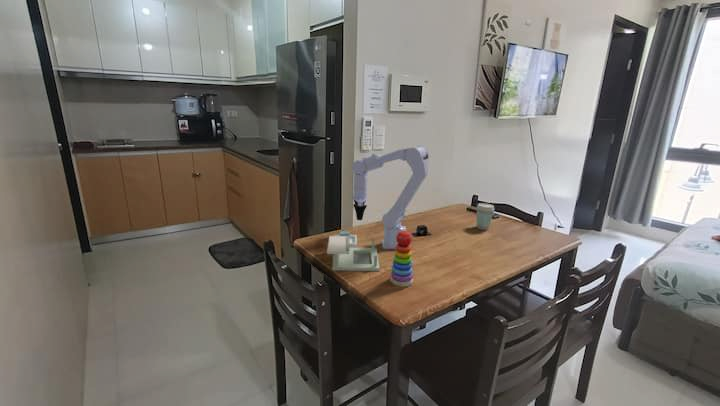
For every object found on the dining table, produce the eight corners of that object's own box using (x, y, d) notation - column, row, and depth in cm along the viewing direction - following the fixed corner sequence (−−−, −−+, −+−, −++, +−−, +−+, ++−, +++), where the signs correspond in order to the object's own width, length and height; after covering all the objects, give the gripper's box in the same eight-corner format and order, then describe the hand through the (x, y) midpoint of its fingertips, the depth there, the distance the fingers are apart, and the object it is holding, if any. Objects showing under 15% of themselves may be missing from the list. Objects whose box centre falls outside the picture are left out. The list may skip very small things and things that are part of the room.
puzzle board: (376, 251, 140) (376, 238, 138) (379, 271, 122) (380, 257, 121) (334, 250, 139) (335, 237, 138) (332, 270, 122) (332, 256, 120)
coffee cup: (493, 227, 172) (496, 204, 169) (489, 232, 165) (492, 208, 162) (476, 223, 177) (479, 201, 173) (471, 228, 170) (474, 205, 166)
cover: (349, 238, 136) (349, 235, 136) (349, 254, 122) (349, 250, 122) (329, 237, 136) (329, 234, 136) (326, 253, 122) (326, 250, 121)
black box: (428, 231, 166) (429, 222, 164) (437, 236, 159) (438, 227, 158) (406, 233, 161) (407, 224, 160) (414, 239, 155) (414, 230, 153)
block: (349, 240, 149) (349, 231, 148) (349, 243, 145) (349, 234, 144) (340, 239, 149) (340, 231, 148) (339, 243, 145) (340, 234, 144)
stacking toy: (387, 276, 119) (390, 226, 114) (410, 276, 120) (414, 226, 115) (391, 288, 112) (395, 235, 107) (415, 287, 112) (420, 235, 107)
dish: (356, 238, 152) (356, 234, 151) (356, 247, 142) (356, 243, 142) (334, 238, 152) (334, 234, 151) (332, 247, 142) (333, 243, 142)
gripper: (351, 183, 153) (350, 211, 157) (351, 191, 139) (350, 222, 143) (366, 183, 153) (365, 212, 157) (368, 191, 139) (366, 222, 143)
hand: (359, 217), depth 150 cm, fingers open, 7 cm apart
